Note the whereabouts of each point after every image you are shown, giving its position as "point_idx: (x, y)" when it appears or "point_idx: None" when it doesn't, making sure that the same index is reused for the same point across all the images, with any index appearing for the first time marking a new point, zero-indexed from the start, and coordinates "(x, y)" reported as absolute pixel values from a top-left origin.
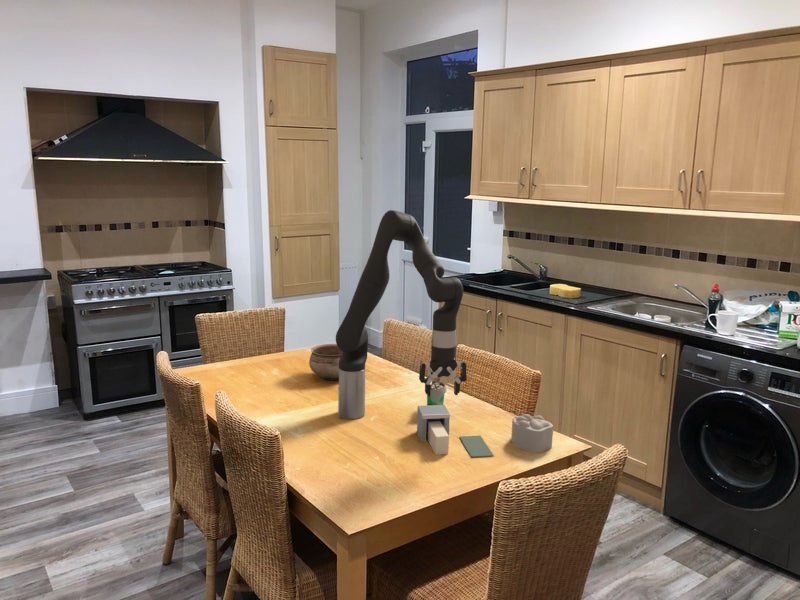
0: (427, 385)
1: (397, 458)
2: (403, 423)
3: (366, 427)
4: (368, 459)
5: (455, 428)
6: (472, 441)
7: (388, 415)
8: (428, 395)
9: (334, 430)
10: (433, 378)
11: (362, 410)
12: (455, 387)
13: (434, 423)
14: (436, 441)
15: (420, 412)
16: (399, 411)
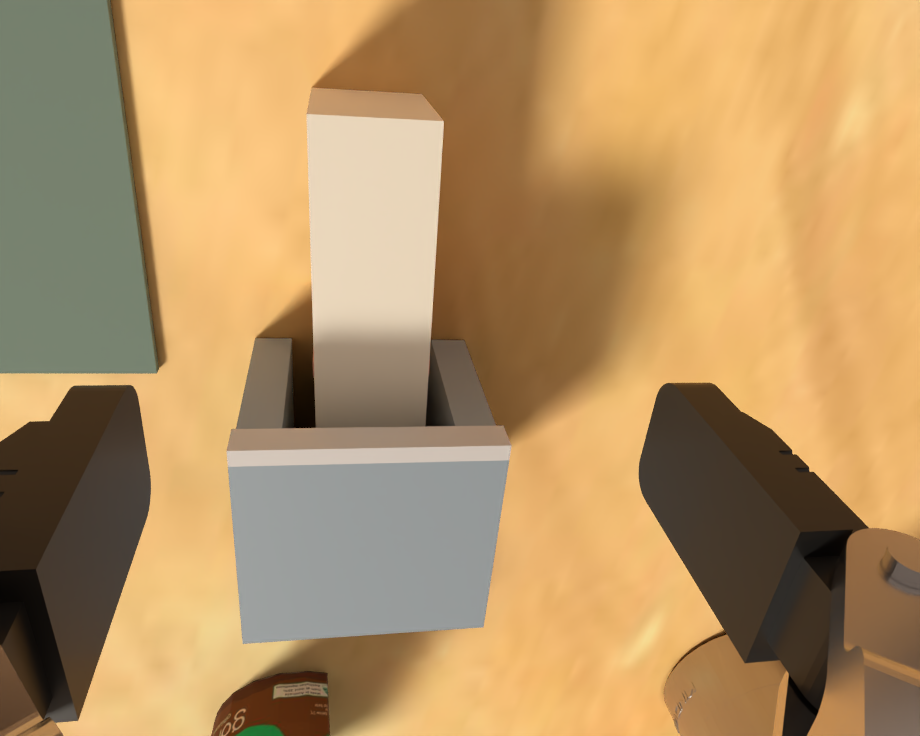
0: (838, 536)
1: (727, 79)
2: (498, 583)
3: None
4: (916, 103)
5: (167, 509)
6: (54, 274)
7: (548, 670)
8: (704, 384)
9: (891, 517)
10: (906, 668)
11: (709, 684)
12: (85, 517)
13: (378, 414)
14: (432, 112)
15: (496, 519)
16: (473, 711)
